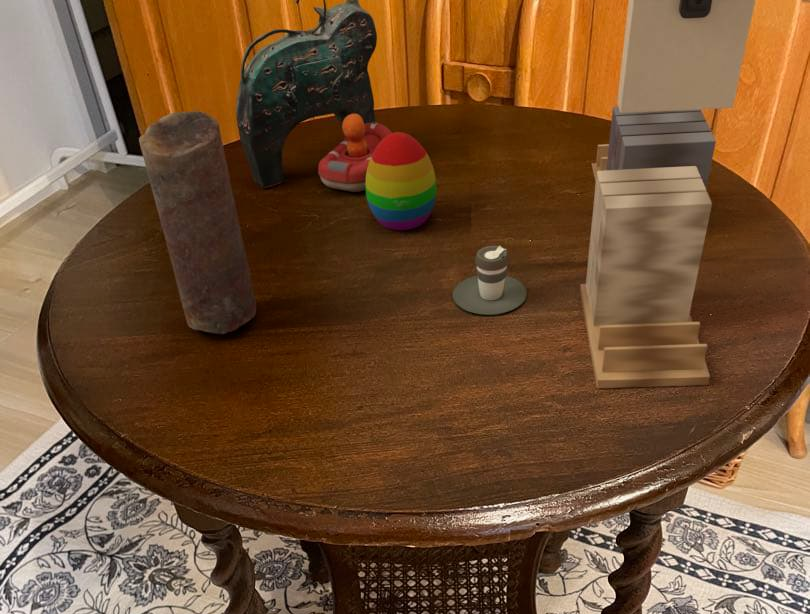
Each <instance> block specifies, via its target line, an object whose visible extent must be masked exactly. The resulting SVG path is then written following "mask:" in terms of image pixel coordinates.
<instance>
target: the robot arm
mask: <svg viewBox="0 0 810 614" xmlns="http://www.w3.org/2000/svg"><path fill="white" fill-rule="evenodd" d="M711 4H712V0H680V4H679V13H680V15H681V17H682V18H685V19H686V18H703V17H706V16H707V15H708V14H709V13H710V10H711Z"/></svg>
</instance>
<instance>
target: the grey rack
mask: <svg viewBox="0 0 810 614" xmlns="http://www.w3.org/2000/svg"><path fill="white" fill-rule="evenodd" d="M611 112H612V113H611V120H610V130H609V140H608V143H607V144H604V143H603V144H598V145H597V153H596V159H595V162H591V168H592V172H593V177H594V180H595V182H596V176H597V171H605V170H625V169H645V168H665V167H685V166H696V167H697V169H698V171H699V174H700V176H701V179H702V181H703V183H704V186H705V188H706V189H708V182H709V179H710V178H709V177H710V173H711V168H712V164H713V163H712V162H713V158H714V152H715V148H716V143H717V140H716V139H715V136H714V134H713V132H712V129H711V127H710V126H709V123H708V122H707V119H706V117H705V115H704V113H703V111H702V110H679V111H657V112H634V113H620V110H619V107H618V106H613V107H612V111H611Z"/></svg>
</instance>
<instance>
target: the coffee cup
mask: <svg viewBox="0 0 810 614" xmlns="http://www.w3.org/2000/svg"><path fill="white" fill-rule="evenodd" d="M474 262H475V266H476V275H473V276H470V277H467V278H465V279H464V280H461V281H460V282H458V283H457V284H456V286H455V287H454V289H453V291H452V295H451V296H452V300H453V301H454V303H455V304H456V305H457V306H458V307H459V308H460V309H461V310H464V311H466V312H469V313H472V314H475V315H482V316H496V315H501V314H506V313H509V312H511V311H514V310H516V309H518V308H519V307H520V306H522V305H523V304H524V303H525V301H526V299H527V296H528V292H527V288H526V286H525V285H524V283H522V282H521V281H520V280H519V279H517V278H514V277H512V276H509V275H508V265H509V264H510V263H509V262H510V259H509V254H508V250H507V248H504V247H502V246H501V245H499V246H498V245H487V246H484V247H481V248H479V250H477V252H476V255H475V258H474Z"/></svg>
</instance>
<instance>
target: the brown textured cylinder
mask: <svg viewBox="0 0 810 614" xmlns="http://www.w3.org/2000/svg"><path fill="white" fill-rule="evenodd" d="M138 142H139V146H140V151H141V154H142V158H143V162H144V165H145V169H146V172H147V177H148V180H149V184H150V188H151V191H152V195H153V198H154V202H155V207H156V210H157V213H158V217H159V221H160V224H161V228H162V231H163V235H164V239H165V244H166V247H167V250H168V255H169V258H170V262H171V266H172V270H173V274H174V278H175V281H176V285H177V290H178V293H179V298H180V301H181V305H182V309H183V311H184V312H183V313H184V316H185V320H186V323H187V326H188V328H190V329H192V330H194V331H202V332H205V333H210V334H217V335H219V334H220V335H226V334H227V333H231V332H234V331H236V330H238V329H239V328H240V327H241V326H243V325H245V324H246V323H248V322H250V321H251V320H252V319H253V318H254V317H256V313H257V303H256V297H255V292H254V288H253V282H252V277H251V273H250V268H249V263H248V259H247V253H246V249H245V243H244V240H243V236H242V232H241V231H242V230H241V227H240V222H239V218H238V212H237V208H236V203H235V198H234V193H233V189H232V183H231V178H230V173H229V168H228V164H227V157H226V153H225V149H224V144H223V140H222V134H221V129H220V124H219V122H218V119H216V118H215V117H213V116H212V115H210V114H207V113H206V112H202V111H199V110H193V111H181V112H180V111H176V112H171V113H170V114H167V115H164V116H163V117H161V118H159V119H158V120H155V121H154V122H152V123H151V124H150V125H148V127H147V128H146V129H145V132H144V134H142V135H141V136H139V137H138Z"/></svg>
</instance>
